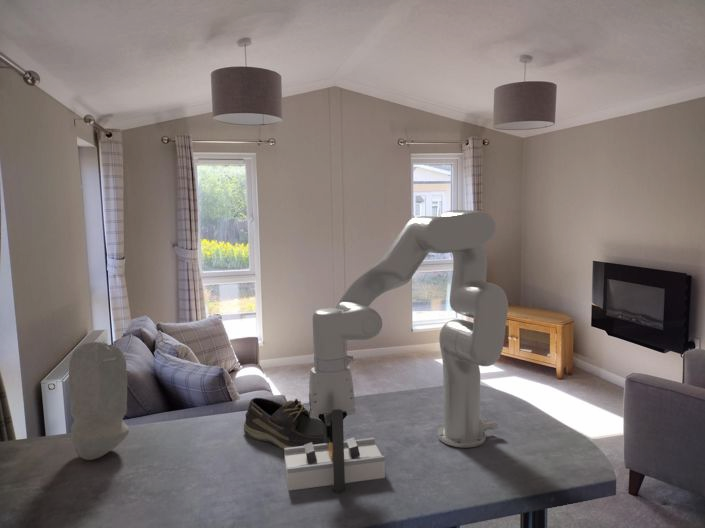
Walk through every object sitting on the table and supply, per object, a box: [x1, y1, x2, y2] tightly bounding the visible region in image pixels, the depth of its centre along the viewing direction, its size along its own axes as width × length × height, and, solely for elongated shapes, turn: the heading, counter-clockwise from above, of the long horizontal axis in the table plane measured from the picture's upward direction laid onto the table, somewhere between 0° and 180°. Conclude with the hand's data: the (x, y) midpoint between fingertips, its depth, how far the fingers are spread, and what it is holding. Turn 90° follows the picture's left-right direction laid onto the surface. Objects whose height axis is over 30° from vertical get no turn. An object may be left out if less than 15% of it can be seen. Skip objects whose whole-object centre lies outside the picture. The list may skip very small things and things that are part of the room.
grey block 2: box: [345, 436, 360, 458], centre depth 119 cm, size 2×4×2 cm, turn 11°
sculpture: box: [68, 341, 130, 461], centre depth 128 cm, size 15×12×30 cm
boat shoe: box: [243, 397, 324, 450], centre depth 135 cm, size 11×29×11 cm, turn 64°
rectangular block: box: [328, 442, 333, 459], centre depth 119 cm, size 2×4×2 cm, turn 12°
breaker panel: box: [283, 437, 386, 491], centre depth 119 cm, size 22×10×5 cm, turn 102°
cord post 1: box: [323, 413, 332, 443], centre depth 125 cm, size 2×2×18 cm
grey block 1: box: [304, 442, 317, 463], centre depth 117 cm, size 2×4×2 cm, turn 11°
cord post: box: [332, 409, 346, 494], centre depth 111 cm, size 2×2×18 cm
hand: (333, 439), depth 118 cm, fingers closed
